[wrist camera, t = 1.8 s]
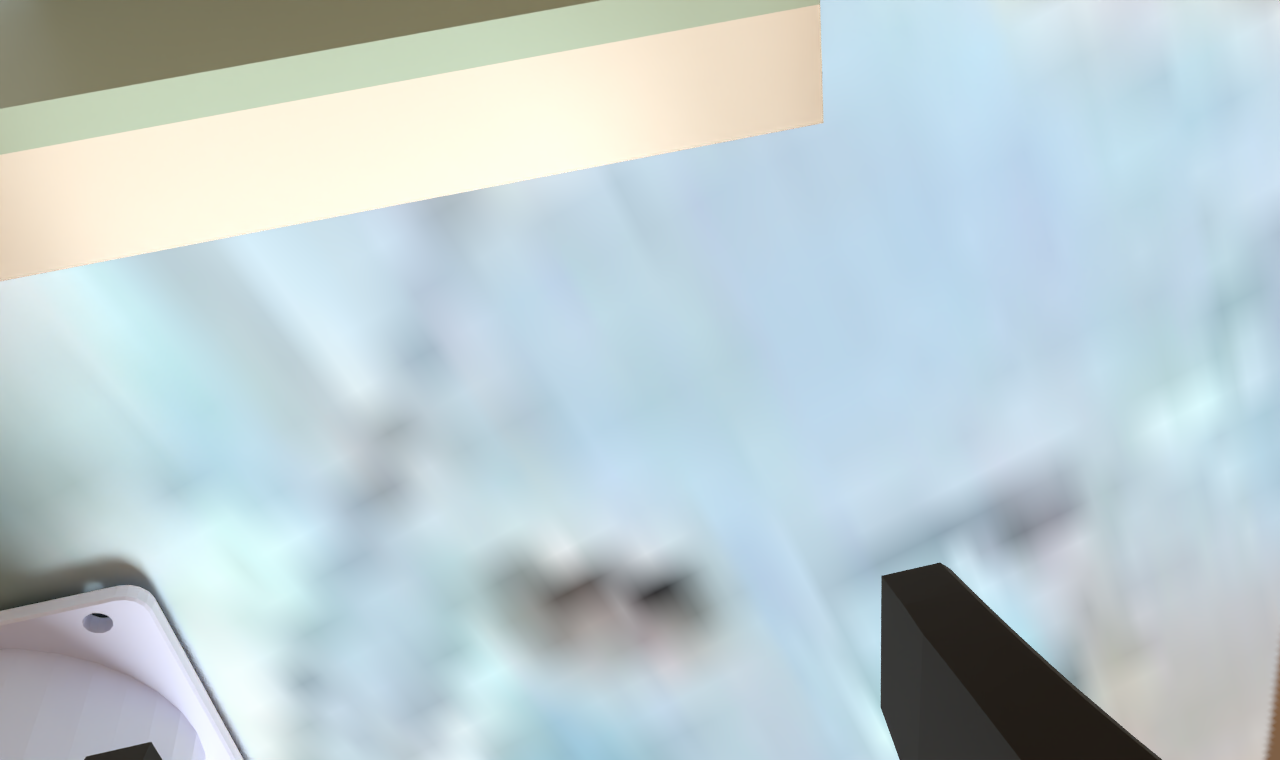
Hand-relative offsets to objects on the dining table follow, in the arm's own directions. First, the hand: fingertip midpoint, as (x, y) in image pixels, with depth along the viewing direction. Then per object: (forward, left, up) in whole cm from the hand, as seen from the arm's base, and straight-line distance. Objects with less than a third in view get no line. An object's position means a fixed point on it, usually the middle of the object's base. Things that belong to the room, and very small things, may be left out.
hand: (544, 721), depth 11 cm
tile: (-1, +5, -10) cm, 11 cm away
